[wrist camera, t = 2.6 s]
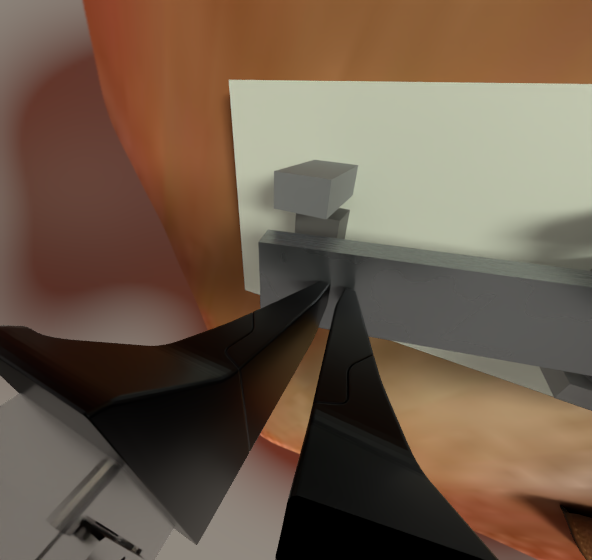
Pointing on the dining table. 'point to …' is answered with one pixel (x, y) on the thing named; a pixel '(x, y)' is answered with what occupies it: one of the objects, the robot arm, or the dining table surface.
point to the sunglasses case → (580, 532)
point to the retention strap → (442, 297)
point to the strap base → (423, 178)
